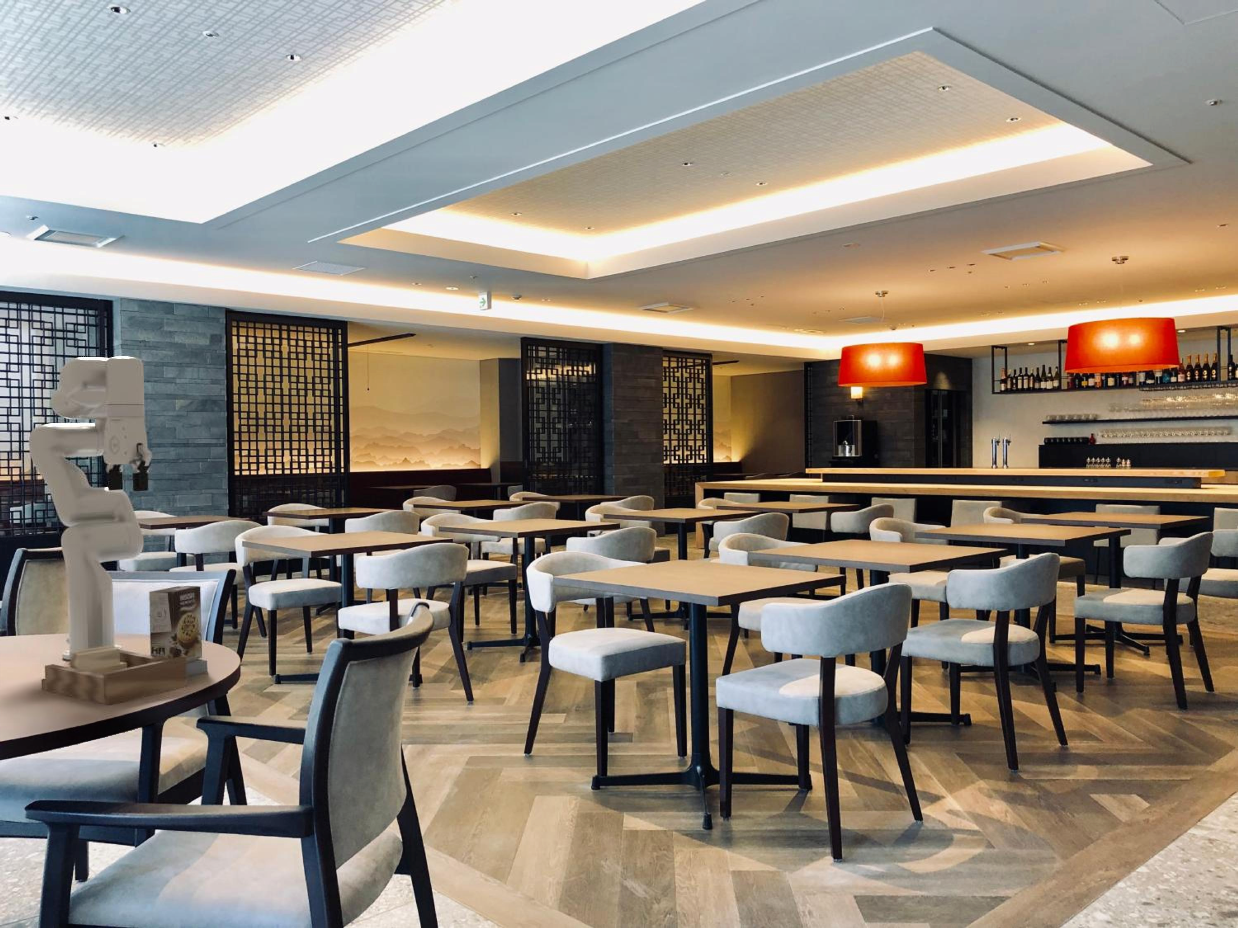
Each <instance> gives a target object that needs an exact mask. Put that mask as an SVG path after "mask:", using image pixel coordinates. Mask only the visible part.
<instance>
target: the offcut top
mask: <svg viewBox="0 0 1238 928" xmlns="http://www.w3.org/2000/svg"><path fill="white" fill-rule="evenodd" d="M69 665H70V667H69V668H73V669H78V670H83V671H88V670H94V669H99V668H105V667H111V666H116V665H120V652H119V648H117V647H114V646H111V645H109V646H103V647H97V648H91V649H84V650H78V651H72V652H70V660H69Z"/></svg>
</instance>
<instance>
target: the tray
mask: <svg viewBox="0 0 1238 928" xmlns="http://www.w3.org/2000/svg"><path fill="white" fill-rule="evenodd" d="M119 652H120V662H125V663H127V668H125V669H121V670H116V671H111V672H107V673H103V675H102V674H97V673H92V672H87V671H83V670H78V669H73V668H70V667H69V666H62V665H58V664H54V663H53V664H45V665H44V678H42V679H40V680H41V690H45V691H49V692H53V693H56V694H61V695H65V696H70V697H73V698H76V699H82V700H86V701H89V702H94V703H98V704H101V705H102V704H103V705H107V706H111V705H115V704H119V702H120V703H122V702H127V701H131V700H136V699H140V698H143V697H148V696H151V695H156V694H160V693H161V694H162V693H164V692H169V691H172V690H176V689H181V688H184V687H185V688H186V687H188V684H187V683H188V678H187V671H186V657H182V656H181V657H176V658H172V659H167V658H162V657H156V656H151V654H146V653H145V654H144V653H139V652H133V651H129V650H128V651H127V650H123V649H122V651H119Z"/></svg>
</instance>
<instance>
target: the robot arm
mask: <svg viewBox="0 0 1238 928" xmlns="http://www.w3.org/2000/svg"><path fill="white" fill-rule="evenodd" d="M58 380H59V388H57V389H56V390H55V391H54V392H53V394H52V395H51V397H50V406H51V409H52V410H53V412H54V413H55V414H56V415H57V416H59V417H61V418H64V419H69V420H94V422H92V423H91V422H90V423H89V422H78V423H77V422H72V423H71V422H66V423H65V422H60V423H59V422H57V423H46V424H42V425H39V426H36V427H35V428H33V429H32V431H30V435H29V437H28V447H29V448H28V449H29V454H30V458H31V461H32V463H33V465H34V467H35V468H36V470H37V472H38V473H39V474H40V476H41V477H42V479H43V480H44V482H45V483H46V484H47V487H48V489H49V493H50V495H51V498H52V502H53V504H54V507H55V511H56V513H57V516H58V518H59V519H60V520H59V521H60V522H61V523H62V524H63V525H64V526H66V527H67V528H66V529H65V530H64V531H63V533H62V535H61V538H60V543H61V544H60V545H61V550H62V555H63V558H64V565H65V572H66V583H67V584H66V587H67V590H66V591H67V606H68V607H67V611H68V613H67V614H68V638H67V639H66V643H67V644H69V649H67V650H65V651H63V652H62V655H61V656H62V659H64V660H68V661H70V652H72V651H78V650H84V649H91V648H97V647H103V646H109V645H111V646H114V647H117V648H119V651H122V650H123V647H122V646H121V645H119V644H116V643H115V642H116V641H115V617H114V616H115V615H114V614H115V613H114V612H115V611H114V586H113V585H114V584H113V578H112V577H111V574H109V572H108V571H107V570H106V569H105V568H104V567H103V566H102V564H101V563H105V562H113V561H122V560H123V561H124V560H129V559H130V560H131V559H134V558H136V557H138V556H140V554H142V551H143V549H144V535H143V532H142V529H141V526H140V524H139V521H138V519H137V515H136V513H135V510H134V508H133V507H134V506H133V505H132V501H131V500H130V498H129V496H128V494H127V493H126V492H125V491H124V474H123V473H124V472H123V471H122V469H123V466H124V465H128V464H129V465H131V467H132V469H133V471H134V472H132V490H133V492H146V491H147V492H148V490H149V472H150V467H151V464H152V463H151V460H152V457H153V452H151V450H149V449H148V436H147V430H146V423H145V420H146V418H145V417H146V416H145V415H146V414H145V412H146V411H145V387H144V386H145V383H144V382H145V381H144V362H143V361H142V360H141V359H140V358H138V357H133V356H132V357H131V356H113V357H109V358H108V357H86V356H85V357H84V356H83V357H82V356H81V357H76V358H73V359H71V360H69V361H68V362H67V363H65V364H64V365H63V366H62V368H61V370H60V373H59V379H58ZM100 456H102V458H103V461H104V466H105V467H106V468H105V471H106V473H107V487H105V486H104V487H93V486H91V485H90V484H89V481H88V478H87V475H86V474H85V472H84V471H83V470H82V469H81V468H80V467H79V466H77V465H76V464H74V463H73V462H71V461H70V460H68V459H66V458H75V457H77V458H78V457H79V458H80V457H81V458H83V457H85V458H86V457H88V458H89V457H100Z"/></svg>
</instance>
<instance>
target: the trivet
mask: <svg viewBox="0 0 1238 928" xmlns="http://www.w3.org/2000/svg"><path fill="white" fill-rule="evenodd" d="M186 671H187V676H188V677H191V675H192V676H195V674H196V675H200V674H203V673H208V660H206V659H202V658H200V659H197V660H194V661H191V662H187V663H186Z"/></svg>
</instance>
